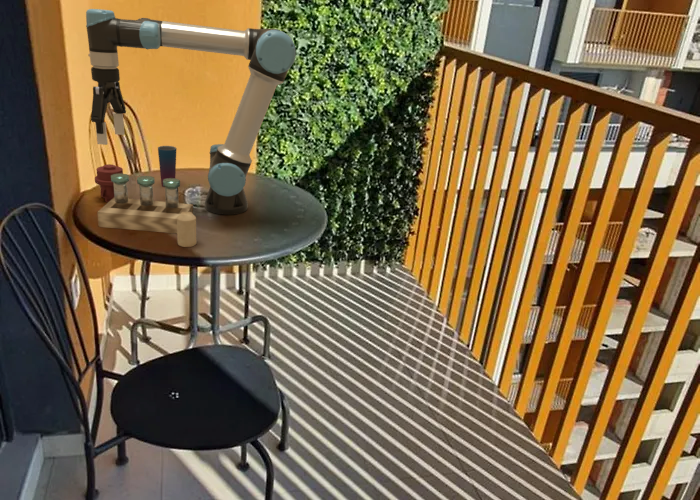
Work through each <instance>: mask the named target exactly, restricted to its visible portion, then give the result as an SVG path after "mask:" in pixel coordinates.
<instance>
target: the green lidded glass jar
mask: <svg viewBox="0 0 700 500" xmlns="http://www.w3.org/2000/svg"><path fill="white" fill-rule="evenodd" d="M155 181H156V179H155V176H151V175H141V176H140V175H139V176H137V178H136V182H137V185H139V186H138V187H139V200H140V204H141V205H143V206H150V205H153V204H154V202H153V201H154V184H155Z"/></svg>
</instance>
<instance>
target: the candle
mask: <svg viewBox="0 0 700 500" xmlns="http://www.w3.org/2000/svg"><path fill="white" fill-rule="evenodd" d="M176 236H177V245H178V246H180V247H183V248H190V247H194V246H196V244H197V216H196V215H194V213H193V214H192V213H191V212H182V213H181V214H180V215H179V216H178V217H177V233H176Z"/></svg>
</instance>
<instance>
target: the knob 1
mask: <svg viewBox="0 0 700 500" xmlns="http://www.w3.org/2000/svg"><path fill="white" fill-rule="evenodd" d="M111 181H112V182H113V183H114V197H115V202H116V203H120V204H122V203H127V202H128V199H129V188H128V182H130V176H129V174H126V173H123V174H113V175H111Z"/></svg>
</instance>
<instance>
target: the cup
mask: <svg viewBox="0 0 700 500" xmlns="http://www.w3.org/2000/svg"><path fill="white" fill-rule="evenodd" d="M157 151H158V152H157V153H158V164H159V173H160V182H161V187H163V188H165V187H164V186H163V180H164V179H167V178H175V179H176V174H177V173H176V172H177V170H176V167H177V147H176V146H173V145H160V146H158V147H157Z"/></svg>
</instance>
